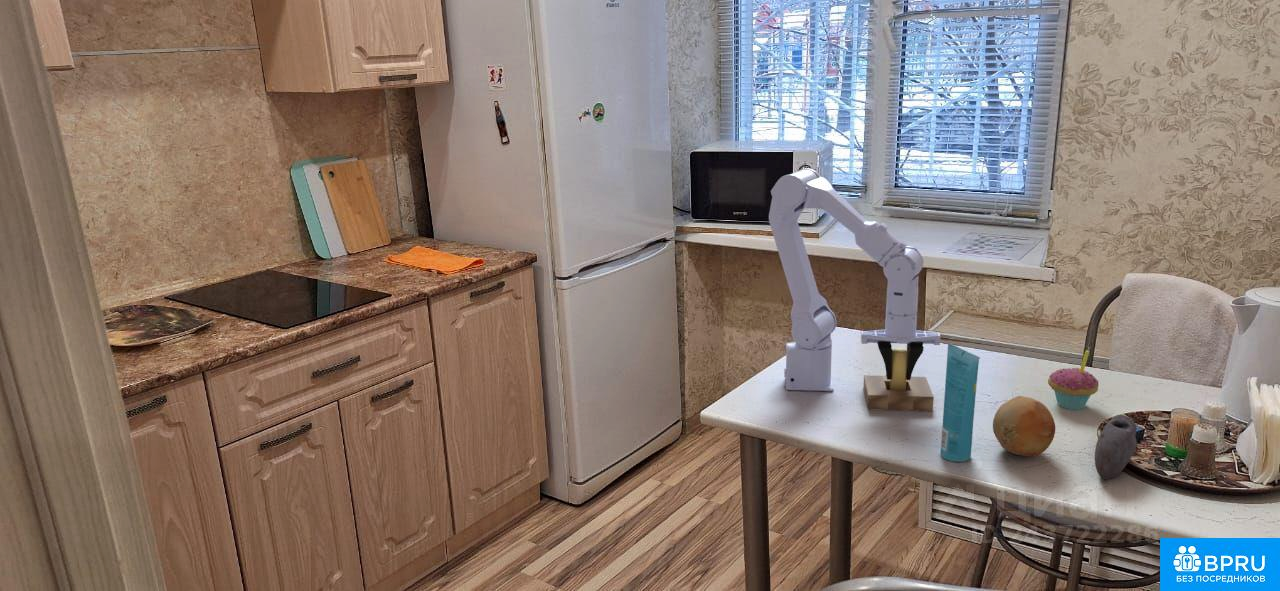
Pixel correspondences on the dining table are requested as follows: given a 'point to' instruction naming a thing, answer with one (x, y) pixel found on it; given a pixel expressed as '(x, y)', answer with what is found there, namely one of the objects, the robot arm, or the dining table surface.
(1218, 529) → the dining table surface
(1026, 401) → the onion
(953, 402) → the tube
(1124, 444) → the perforated stone tool
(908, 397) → the socket
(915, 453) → the dining table surface
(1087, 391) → the cupcake
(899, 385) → the dowel
